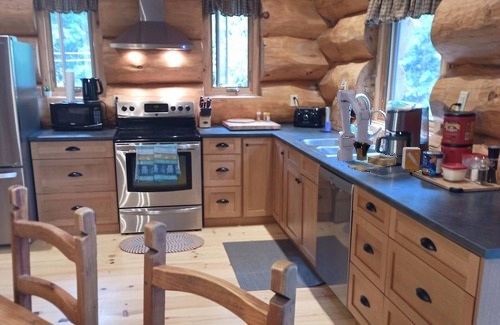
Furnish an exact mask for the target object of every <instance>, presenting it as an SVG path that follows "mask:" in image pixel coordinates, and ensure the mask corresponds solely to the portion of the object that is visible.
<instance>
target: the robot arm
mask: <svg viewBox="0 0 500 325" xmlns="http://www.w3.org/2000/svg"><path fill="white" fill-rule="evenodd" d="M356 96H357V93H356V91H355V89H353V88H352V89H338V90H337V92H336V100H337V105H339V110H340V120H341V130H342V131H341V133H340V134H339V135H338V136H337V138H338V139H337V145H338V146H337V147H338V149H337V150H336V162H340V161H341V162H347V163H348V162H353V160H354V157H353V156H354V151H355V153H356V155H357V148H362V156H363V157H365V156H366V155H367V156H368V151H369V149H370V148H371V146H373V144H374V142H373V140H370V139H368V130H369V129H368V128H369V120H371V112H370V110H369V109H366V108H365V107H364V106H363V104H362V103H361V102H360V101H358V99H357V97H356ZM350 105H352V107H351V109H352V111H353V113H354V114H355V121H356V135H355V133H353V131H352V130H351V121H350V120H351V119H350V111H349V106H350ZM354 149H355V150H354Z"/></svg>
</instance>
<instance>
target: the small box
mask: <svg viewBox="0 0 500 325" xmlns="http://www.w3.org/2000/svg"><path fill="white" fill-rule="evenodd" d="M420 161H421V148H420V147H418V146H416V147H415V146H414V147H413V146H412V147H411V146H410V147H409V146H408V147H407V146H405V147H402V160H401V168H402V169H403V172H404V173H415V172H414V171H419V172H420V165H421V164H420V163H421V162H420Z"/></svg>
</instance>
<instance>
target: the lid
mask: <svg viewBox="0 0 500 325" xmlns="http://www.w3.org/2000/svg"><path fill="white" fill-rule="evenodd" d="M395 153H396V152H395ZM395 153H394V154H393V156H390V155H385V154H386V153H385V154H378V155H379V156H381V157H385V158H398V157H397V156H398V155H396V154H395Z"/></svg>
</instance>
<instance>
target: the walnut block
mask: <svg viewBox="0 0 500 325" xmlns="http://www.w3.org/2000/svg"><path fill="white" fill-rule="evenodd" d="M356 161H360V162H364V161H368V154H367V155H366V156H365V157H363V156H362V147H361V148H357V154H356Z"/></svg>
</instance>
